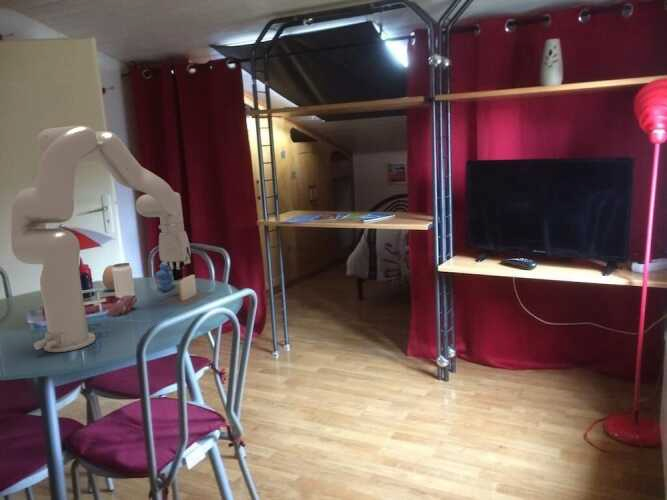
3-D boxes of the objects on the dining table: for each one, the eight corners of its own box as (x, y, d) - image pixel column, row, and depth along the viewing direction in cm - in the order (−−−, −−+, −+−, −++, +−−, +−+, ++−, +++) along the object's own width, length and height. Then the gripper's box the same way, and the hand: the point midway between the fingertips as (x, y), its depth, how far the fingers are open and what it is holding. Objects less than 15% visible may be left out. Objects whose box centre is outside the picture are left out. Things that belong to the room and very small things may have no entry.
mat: (189, 306, 170) (189, 305, 170) (158, 305, 174) (158, 303, 174) (215, 293, 185) (214, 292, 185) (185, 292, 189) (185, 291, 189)
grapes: (161, 287, 199) (158, 256, 197) (179, 286, 199) (175, 255, 197) (151, 295, 188) (147, 262, 186) (170, 294, 188) (166, 261, 186)
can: (126, 299, 183) (122, 266, 181) (111, 299, 185) (107, 266, 183) (138, 294, 189) (134, 262, 187) (124, 294, 191) (120, 262, 189)
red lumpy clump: (117, 323, 162) (123, 304, 161) (104, 316, 163) (111, 297, 161) (134, 313, 172) (141, 295, 170) (123, 307, 172) (129, 289, 170)
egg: (101, 290, 199) (98, 266, 197) (119, 286, 203) (116, 262, 201) (107, 293, 194) (104, 268, 192) (126, 289, 198) (122, 264, 196)
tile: (183, 300, 176) (181, 280, 174) (180, 300, 176) (177, 280, 175) (196, 294, 183) (194, 274, 182) (193, 294, 184) (191, 274, 182)
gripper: (147, 230, 178) (153, 282, 181) (185, 229, 173) (191, 283, 177) (160, 226, 185) (166, 276, 188) (197, 226, 180) (202, 277, 184)
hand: (178, 279), depth 183 cm, fingers closed
